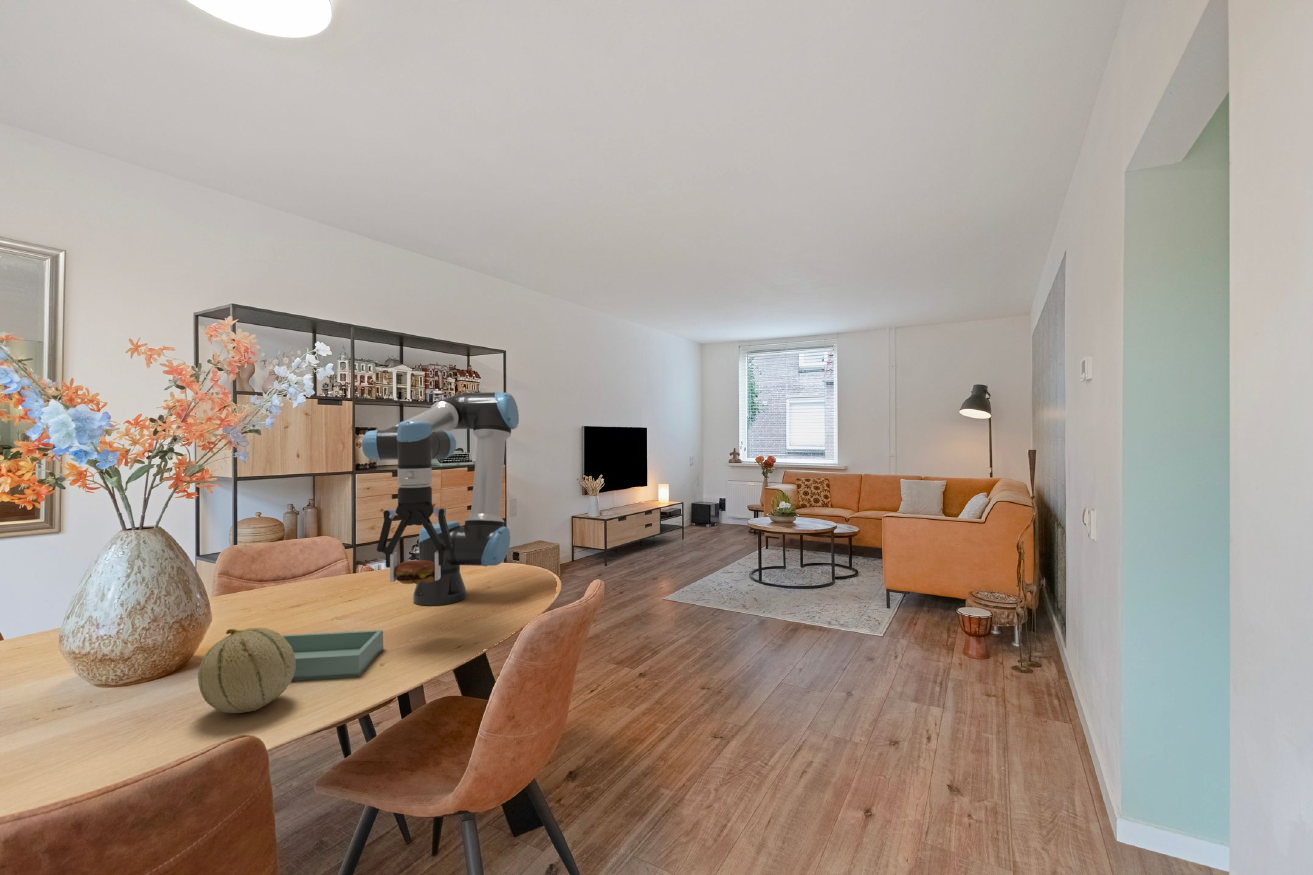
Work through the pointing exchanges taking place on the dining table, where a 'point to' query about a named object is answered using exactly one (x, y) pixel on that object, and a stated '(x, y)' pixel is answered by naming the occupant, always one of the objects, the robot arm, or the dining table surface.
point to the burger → (415, 572)
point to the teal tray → (334, 653)
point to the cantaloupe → (246, 670)
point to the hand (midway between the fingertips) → (415, 579)
